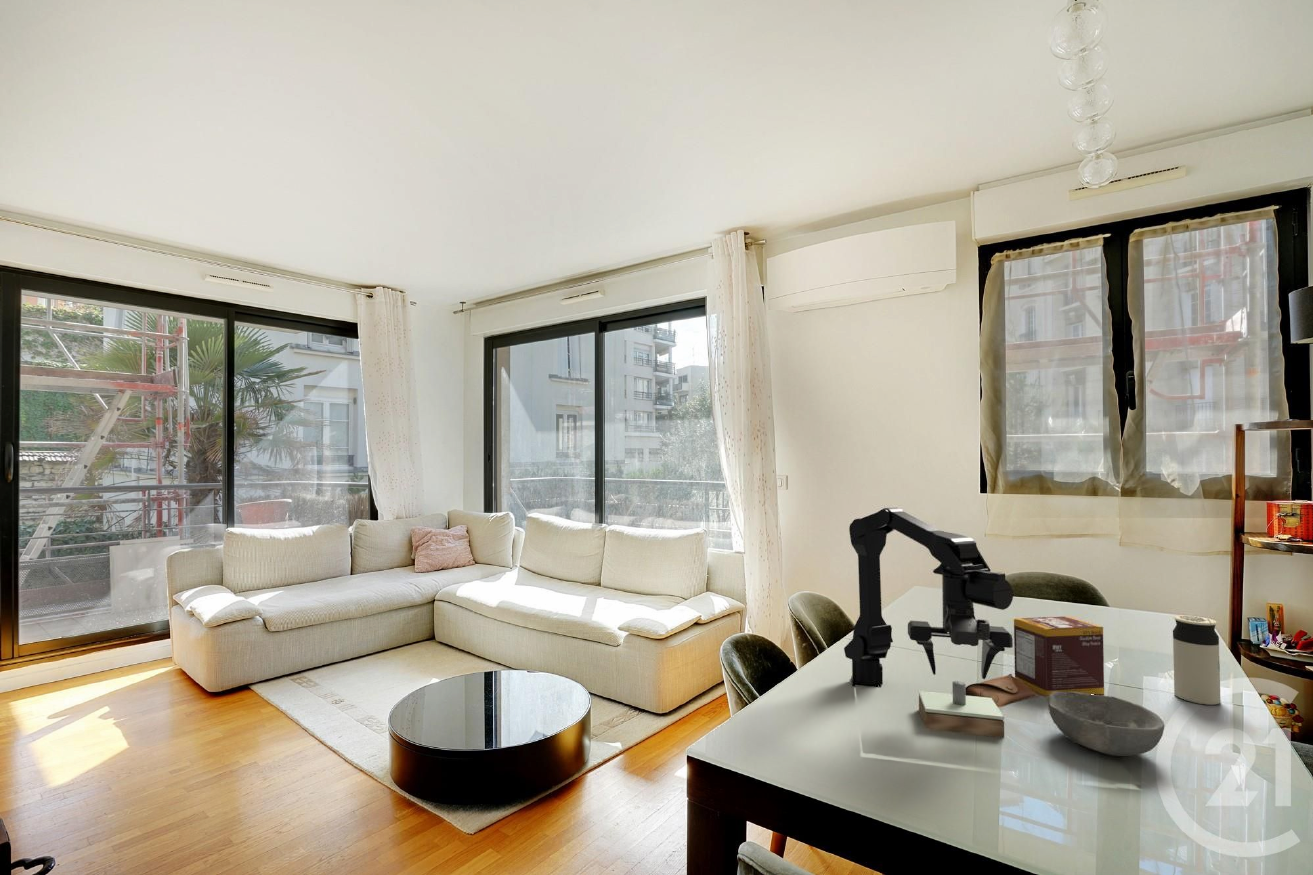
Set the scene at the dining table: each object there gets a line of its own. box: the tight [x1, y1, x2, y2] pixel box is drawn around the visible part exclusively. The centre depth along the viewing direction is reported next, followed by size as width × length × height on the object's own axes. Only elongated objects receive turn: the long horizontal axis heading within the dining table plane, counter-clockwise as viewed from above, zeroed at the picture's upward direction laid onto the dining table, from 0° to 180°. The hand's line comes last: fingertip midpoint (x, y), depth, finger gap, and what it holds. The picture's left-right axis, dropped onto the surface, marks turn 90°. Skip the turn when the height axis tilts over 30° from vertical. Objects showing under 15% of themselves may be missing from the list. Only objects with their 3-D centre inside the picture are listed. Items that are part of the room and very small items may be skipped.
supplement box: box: [1013, 615, 1105, 698], centre depth 150 cm, size 10×15×16 cm
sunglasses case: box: [966, 673, 1041, 708], centre depth 143 cm, size 18×7×7 cm
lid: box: [918, 680, 1005, 721], centre depth 128 cm, size 14×10×5 cm
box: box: [918, 695, 1005, 738], centre depth 128 cm, size 14×10×4 cm
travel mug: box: [1172, 614, 1222, 706], centre depth 143 cm, size 8×8×18 cm
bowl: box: [1047, 691, 1165, 757], centre depth 118 cm, size 18×18×8 cm
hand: (958, 676), depth 128 cm, fingers open, 9 cm apart
